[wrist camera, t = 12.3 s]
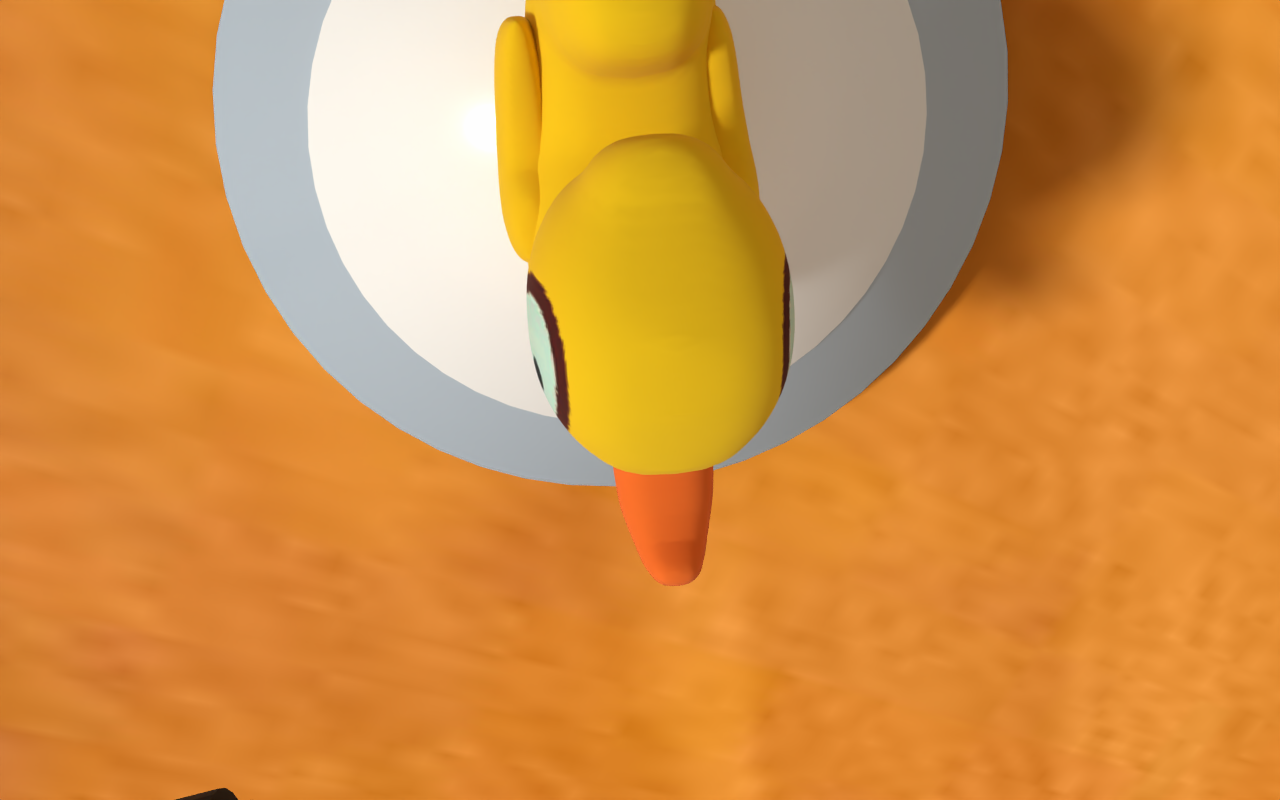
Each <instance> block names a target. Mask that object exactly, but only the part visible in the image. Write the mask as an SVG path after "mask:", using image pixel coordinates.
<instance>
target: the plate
mask: <svg viewBox="0 0 1280 800" xmlns="http://www.w3.org/2000/svg"><path fill="white" fill-rule="evenodd" d="M525 1H526V0H225V1H224V5H223V10H222V15H221V19H220V24H219V28H218V33H217V42H216V55H215V68H214V81H213V102H214V119H215V135H216V147H217V152H218V157H219V162H220V167H221V172H222V177H223V182H224V187H225V192H226V197H227V200H228V203H229V206H230V209H231V212H232V215H233V218H234V221H235V224H236V227H237V229H238V232H239V235H240V238H241V241H242V244H243V247H244V249H245V251H246V253H247V255H248V257H249V259H250V261H251V263H252V265H253V267H254V269H255V271H256V273H257V275H258V277H259V279H260V281H261V283H262V285H263V287H264V289H265V291H266V293H267V294H268V296H269V297H270V299H271V300H272V302H273V303H274V305H275V306H276V308H277V309H278V311H279V312H280V314H281V315H282V317H283V318H284V320H285V321H286V323H287V324H288V326H289V328H290V329H291V331H292V332H293V333H294V334H295V336H296V337H297V338H298V339H299V340H300V341H301V343H302V344H303V345H304V346H305V347H306V348H307V350H308V351H309V352H310V353H311V354H312V355H313V356H314V358H315V359H316V360H317V361H318V362H319V363H320V365H321V366H322V367H323V368H324V369H325V370H326V371H327V372H328V373H329V374H330V375H331V376H333V377H334V378H335V379H336V380H337V381H338V382H339V383H340V384H341V385H342V386H344V387H345V388H346V389H347V390H348V391H349V392H350V393H351V394H352V395H354V396H355V397H356V398H357V399H358V400H359V401H360V402H362V403H363V404H365V405H366V406H367V407H369V408H370V409H372V410H373V411H374V412H376V413H377V414H379V415H380V416H382V417H383V418H384V419H386V420H387V421H389V422H390V423H392V424H393V425H394V426H396V427H397V428H399V429H401V430H403V431H404V432H406V433H408V434H410V435H412V436H414V437H416V438H417V439H419V440H421V441H423V442H425V443H427V444H429V445H430V446H432V447H434V448H436V449H438V450H440V451H443V452H445V453H448V454H450V455H453V456H455V457H458V458H460V459H463V460H465V461H468V462H470V463H473V464H476V465H478V466H481V467H484V468H488V469H492V470H495V471H499V472H503V473H507V474H511V475H514V476H518V477H522V478H526V479H533V480H540V481H547V482H554V483H561V484H568V485H594V486H616V482H615V476H614V470H613V466H611V465H609V464H607V463H605V462H604V461H602V460H601V459H599V458H598V457H596V456H595V455H593V454H592V453H591V452H589V451H588V450H587V449H586V448H584V447H583V446H582V445H581V444H580V443H579V442H578V441H577V440H576V439H575V438H574V437H573V436H572V435H571V434H570V433H569V432H568V430H567V429H566V428H565V427H564V425H563V424H562V423H561V421H560V420H559V419H558V417H557V416H556V414H555V413H554V411H553V409H552V408H551V406H550V404H549V402H548V400H547V398H546V396H545V394H544V392H543V389H542V387H541V384H540V381H539V378H538V375H537V372H536V368H535V365H534V360H533V356H532V351H531V345H530V339H529V330H528V318H527V275H528V262H525V261H524V260H522V259H521V258H520V257H519V256H518V255H517V253H516V252H515V250H514V249H513V247H512V245H511V242H510V240H509V237H508V234H507V231H506V227H505V223H504V219H503V214H502V208H501V200H500V191H499V179H498V160H497V146H496V124H495V95H494V57H495V44H496V38H497V34H498V30H499V28H500V26H501V24H502V22H503V21H504V20H505V19H506V18H508V17H511V16H522V17H525ZM715 2H716V6H718V7H719V8H720V9H721V10H722V11H723V13H724V14H725V16H726V18H727V21H728V23H729V26H730V29H731V32H732V36H733V41H734V46H735V51H736V57H737V64H738V71H739V79H740V87H741V94H742V101H743V107H744V113H745V119H746V124H747V130H748V135H749V140H750V145H751V149H752V154H753V158H754V163H755V167H756V172H757V178H758V186H759V195H760V200H761V202H762V203H763V205H764V206H765V208H766V210H767V211H768V213H769V215H770V217H771V219H772V220H773V222H774V224H775V227H776V229H777V231H778V233H779V236H780V238H781V241H782V244H783V247H784V250H785V253H786V257H787V261H788V265H789V270H790V275H791V280H792V287H793V296H794V310H795V333H794V346H793V353H792V359H791V364H790V369H789V372H788V376H787V379H786V382H785V385H784V388H783V391H782V393H781V395H780V397H779V400H778V402H777V404H776V406H775V408H774V409H773V411H772V413H771V415H770V416H769V418H768V419H767V421H766V422H765V424H764V425H763V427H762V428H761V429H760V430H759V432H758V433H757V434H756V435H755V436H754V437H753V438H752V439H751V440H750V441H749V442H748V443H747V444H746V445H745V446H744V447H743V448H742V449H741V450H740V451H739V452H738V453H736V454H735V455H734V456H732V457H731V458H729V459H727V460H726V461H724V462H722V463H720V464H717V465H714V466H713V470H716V469H719V468H722V467H725V466H728V465H732V464H735V463H738V462H741V461H744V460H747V459H749V458H751V457H753V456H756V455H758V454H760V453H762V452H765V451H767V450H769V449H772V448H774V447H776V446H778V445H781V444H783V443H785V442H787V441H789V440H790V439H792V438H794V437H795V436H797V435H799V434H801V433H802V432H804V431H806V430H808V429H809V428H811V427H813V426H814V425H816V424H818V423H820V422H821V421H823V420H825V419H826V418H827V417H829V416H830V415H831V414H833V413H834V412H835V411H837V410H838V409H839V408H841V407H842V406H844V405H845V404H846V403H848V402H849V401H850V400H852V399H853V398H854V397H856V396H857V395H858V394H860V393H861V392H862V391H863V390H864V389H865V388H866V387H867V386H869V385H870V384H871V383H872V382H873V381H874V380H875V379H876V378H877V377H878V376H879V375H880V374H881V373H883V372H884V371H885V370H886V369H887V368H888V367H889V366H890V365H891V364H892V363H893V362H894V361H895V360H896V359H897V358H898V357H899V356H900V354H901V353H902V352H903V351H904V350H905V349H906V347H907V346H908V345H909V344H910V343H911V342H912V340H913V339H914V338H915V337H916V336H917V335H918V333H919V332H920V331H921V330H922V329H923V328H924V326H925V325H926V323H927V322H928V320H929V319H930V318H931V316H932V315H933V313H934V312H935V310H936V309H937V307H938V306H939V304H940V303H941V301H942V300H943V298H944V297H945V295H946V294H947V292H948V291H949V289H950V288H951V286H952V284H953V282H954V280H955V279H956V277H957V275H958V273H959V271H960V269H961V267H962V265H963V263H964V261H965V259H966V257H967V255H968V254H969V252H970V250H971V248H972V246H973V244H974V241H975V238H976V236H977V233H978V230H979V228H980V225H981V222H982V220H983V217H984V214H985V212H986V209H987V207H988V204H989V201H990V198H991V194H992V190H993V186H994V182H995V178H996V174H997V170H998V166H999V162H1000V157H1001V153H1002V147H1003V139H1004V130H1005V122H1006V113H1007V105H1008V50H1007V43H1006V36H1005V28H1004V21H1003V14H1002V7H1001V0H715Z"/></svg>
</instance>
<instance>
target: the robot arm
mask: <svg viewBox="0 0 1280 800" xmlns="http://www.w3.org/2000/svg"><path fill="white" fill-rule="evenodd" d="M176 800H238V799H237V798H236V796H235V795H234V794H233V792H231V791H229V790H228V789H226V788H221V789H215V790H211V791H208V792H204V793H200V794H196V795H192V796H188V797H184V798H180V799H176Z"/></svg>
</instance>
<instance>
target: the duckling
mask: <svg viewBox="0 0 1280 800" xmlns="http://www.w3.org/2000/svg"><path fill="white" fill-rule="evenodd" d="M494 95H495V124H496V146H497V160H498V179H499V191H500V200H501V208H502V214H503V219H504V223H505V227H506V231H507V234H508V237H509V240H510V242H511V245H512V247H513V249H514V250H515V252H516V253H517V255H518V256H519V257H520V258H521V259H522V260H524V261H525V262H528V275H527V318H528V330H529V339H530V345H531V351H532V356H533V360H534V365H535V368H536V372H537V375H538V378H539V381H540V384H541V387H542V389H543V392H544V394H545V396H546V398H547V400H548V402H549V404H550V406H551V408H552V409H553V411H554V413H555V414H556V416H557V417H558V419H559V420H560V421H561V423H562V424H563V425H564V427H565V428H566V429H567V430H568V432H569V433H570V434H571V435H572V436H573V437H574V438H575V439H576V440H577V441H578V442H579V443H580V444H581V445H582V446H583V447H584V448H586V449H587V450H588V451H589V452H591V453H592V454H593V455H595V456H596V457H598V458H599V459H601V460H602V461H604V462H605V463H607V464H609V465H611V466H613V470H614V476H615V482H616V488H617V493H618V498H619V503H620V506H621V510H622V513H623V516H624V519H625V521H626V524H627V526H628V529H629V531H630V534H631V537H632V539H633V541H634V544H635V546H636V548H637V551H638V553H639V555H640V558H641V560H642V562H643V564H644V566H645V567H646V569H647V570H648V572H649V573H650V575H651V576H652V577H653V578H654V579H655V580H656V581H657V582H659V583H661V584H663V585H667V586H680V585H684V584H688V583H690V582H692V581H693V580H695V579H696V578H697V576H698V575H699V573H700V571H701V568H702V565H703V560H704V556H705V550H706V542H707V534H708V528H709V520H710V513H711V505H712V496H713V466H714V465H717V464H720V463H722V462H724V461H726V460H727V459H729V458H731V457H732V456H734V455H735V454H736V453H738V452H739V451H740V450H741V449H742V448H743V447H744V446H745V445H746V444H747V443H748V442H749V441H750V440H751V439H752V438H753V437H754V436H755V435H756V434H757V433H758V432H759V430H760V429H761V428H762V427H763V425H764V424H765V422H766V421H767V419H768V418H769V416H770V415H771V413H772V411H773V409H774V408H775V406H776V404H777V402H778V400H779V397H780V395H781V393H782V391H783V388H784V385H785V382H786V379H787V376H788V372H789V369H790V364H791V359H792V353H793V346H794V333H795V310H794V296H793V287H792V280H791V275H790V270H789V265H788V261H787V257H786V253H785V250H784V247H783V244H782V241H781V238H780V236H779V233H778V231H777V229H776V227H775V224H774V222H773V220H772V219H771V217H770V215H769V213H768V211H767V210H766V208H765V206H764V205H763V203H762V202H761V200H760V195H759V186H758V178H757V172H756V167H755V163H754V158H753V154H752V149H751V145H750V140H749V135H748V130H747V124H746V119H745V113H744V107H743V101H742V94H741V87H740V79H739V71H738V64H737V57H736V51H735V46H734V41H733V36H732V32H731V29H730V26H729V23H728V21H727V18H726V16H725V14H724V13H723V11H722V10H721V9H720V8H719V7H718V6H716V2H715V0H526V1H525V17H522V16H511V17H508V18H506V19H505V20H504V21H503V22H502V24H501V26H500V28H499V30H498V34H497V38H496V44H495V57H494Z"/></svg>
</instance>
